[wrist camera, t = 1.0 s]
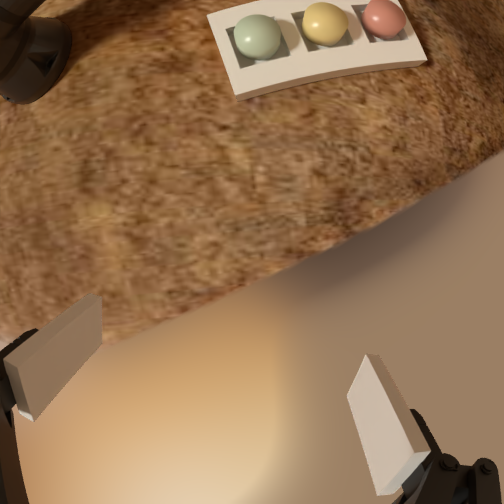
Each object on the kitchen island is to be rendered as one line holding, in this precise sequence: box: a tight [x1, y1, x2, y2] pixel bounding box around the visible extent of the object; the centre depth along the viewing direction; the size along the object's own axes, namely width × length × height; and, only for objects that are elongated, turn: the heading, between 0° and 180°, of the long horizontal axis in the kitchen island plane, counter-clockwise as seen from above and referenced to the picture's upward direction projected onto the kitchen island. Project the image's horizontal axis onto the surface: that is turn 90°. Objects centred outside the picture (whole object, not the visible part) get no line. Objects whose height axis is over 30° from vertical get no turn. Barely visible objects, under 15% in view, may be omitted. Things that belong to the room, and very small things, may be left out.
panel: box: [207, 0, 427, 102], centre depth 29 cm, size 12×25×3 cm, turn 107°
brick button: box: [361, 0, 406, 39], centre depth 26 cm, size 5×5×3 cm
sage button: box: [234, 14, 281, 61], centre depth 27 cm, size 5×5×3 cm
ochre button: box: [302, 2, 349, 46], centre depth 27 cm, size 5×5×3 cm
